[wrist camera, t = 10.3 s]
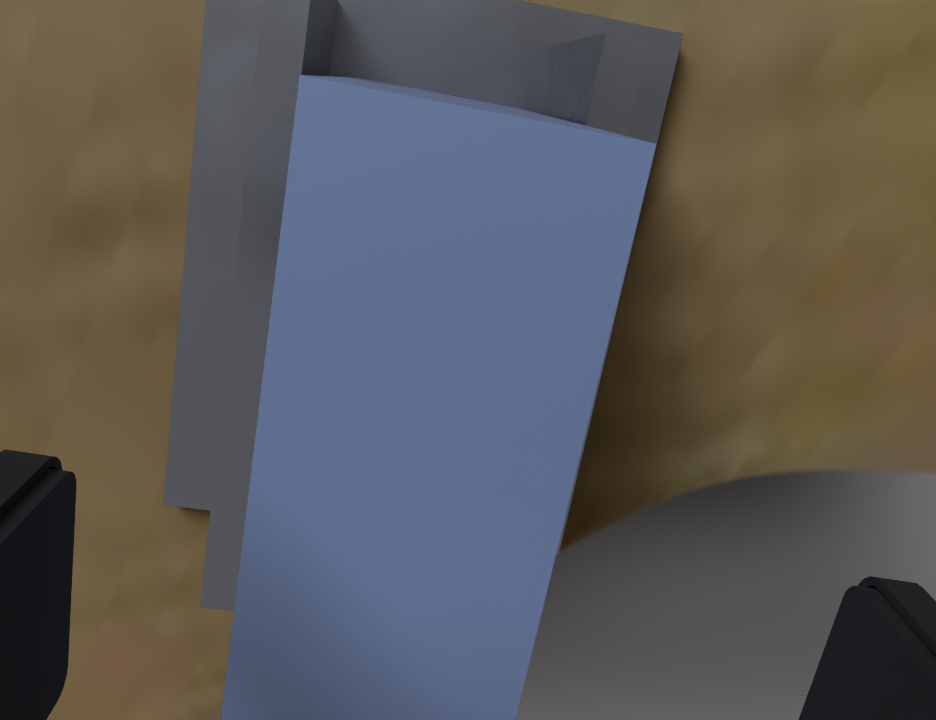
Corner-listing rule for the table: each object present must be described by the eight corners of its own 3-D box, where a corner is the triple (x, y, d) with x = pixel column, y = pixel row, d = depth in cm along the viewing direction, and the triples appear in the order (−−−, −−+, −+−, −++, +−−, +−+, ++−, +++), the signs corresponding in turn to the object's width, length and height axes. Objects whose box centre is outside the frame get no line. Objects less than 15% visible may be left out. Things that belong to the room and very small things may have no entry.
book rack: (673, 35, 27) (776, 17, 19) (554, 541, 32) (598, 683, 25) (218, -57, 25) (136, -116, 18) (170, 491, 31) (92, 627, 23)
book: (523, 109, 26) (656, 143, 12) (453, 463, 30) (493, 813, 16) (360, 78, 26) (299, 75, 12) (308, 443, 29) (212, 787, 15)
